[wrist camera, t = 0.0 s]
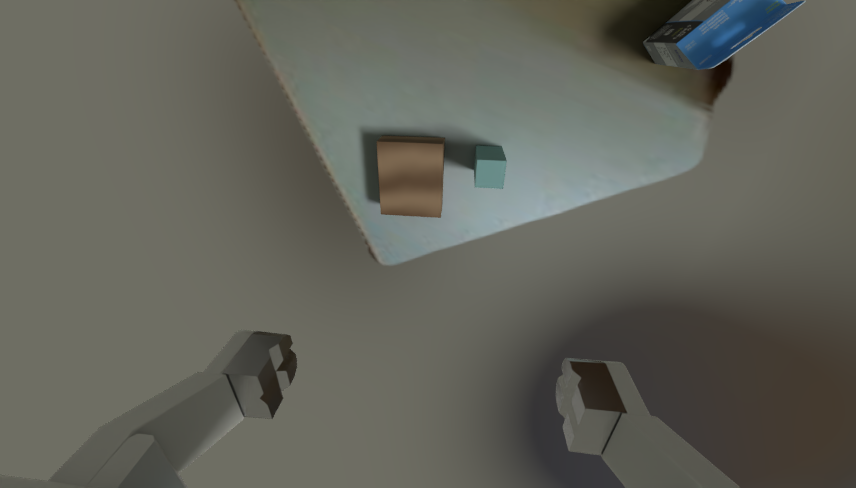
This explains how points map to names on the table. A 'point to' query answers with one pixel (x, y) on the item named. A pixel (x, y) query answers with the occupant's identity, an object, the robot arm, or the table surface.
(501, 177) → the teal column
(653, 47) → the label tape box
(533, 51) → the table surface
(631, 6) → the table surface
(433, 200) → the walnut block
